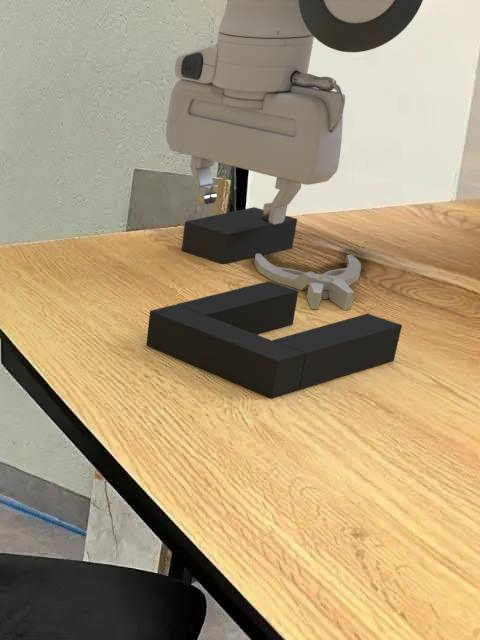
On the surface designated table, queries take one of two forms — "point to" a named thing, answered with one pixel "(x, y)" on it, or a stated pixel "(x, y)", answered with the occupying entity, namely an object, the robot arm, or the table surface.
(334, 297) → the pliers
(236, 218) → the black block
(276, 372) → the black u-shaped frame
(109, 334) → the table surface
